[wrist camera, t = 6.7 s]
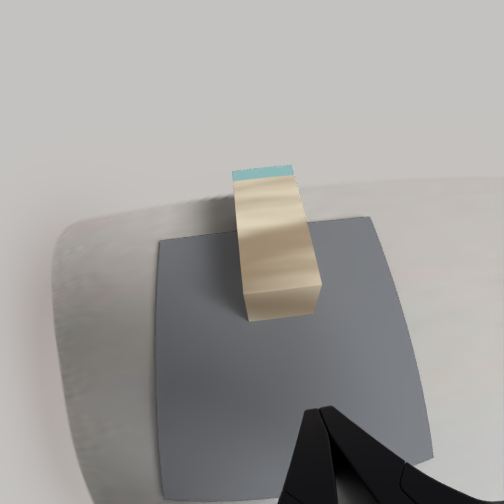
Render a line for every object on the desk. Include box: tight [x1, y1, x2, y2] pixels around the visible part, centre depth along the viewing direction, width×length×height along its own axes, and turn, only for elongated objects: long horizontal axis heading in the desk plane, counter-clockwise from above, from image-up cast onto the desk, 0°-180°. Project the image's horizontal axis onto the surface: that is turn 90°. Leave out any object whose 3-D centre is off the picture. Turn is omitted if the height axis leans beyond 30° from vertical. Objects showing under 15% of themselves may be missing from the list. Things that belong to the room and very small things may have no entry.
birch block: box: [232, 165, 322, 322], centre depth 20 cm, size 4×4×9 cm
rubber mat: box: [155, 217, 434, 502], centre depth 18 cm, size 18×16×1 cm
